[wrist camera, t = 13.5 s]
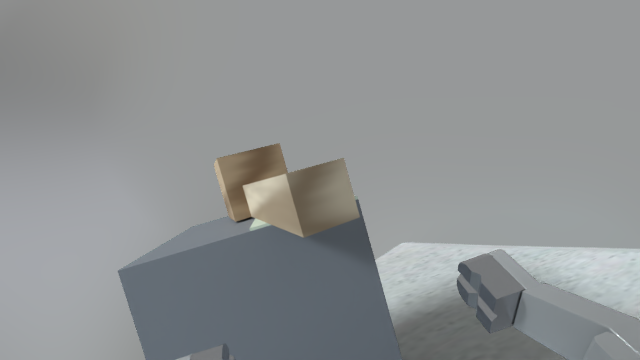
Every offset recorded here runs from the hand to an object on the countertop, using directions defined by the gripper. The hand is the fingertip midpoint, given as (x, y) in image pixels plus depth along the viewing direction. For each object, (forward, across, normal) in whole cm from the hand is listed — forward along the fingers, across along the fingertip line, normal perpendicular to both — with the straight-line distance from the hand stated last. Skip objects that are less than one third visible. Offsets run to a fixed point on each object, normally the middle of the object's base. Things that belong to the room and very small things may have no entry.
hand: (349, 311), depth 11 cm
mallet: (+15, +2, +6) cm, 16 cm away
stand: (+7, +5, +31) cm, 32 cm away
